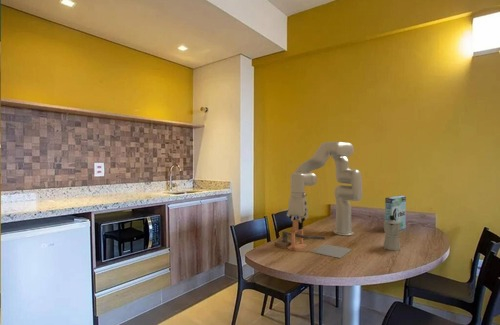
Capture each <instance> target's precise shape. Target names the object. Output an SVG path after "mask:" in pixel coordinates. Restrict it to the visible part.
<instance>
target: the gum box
mask: <svg viewBox="0 0 500 325" xmlns="http://www.w3.org/2000/svg"><path fill="white" fill-rule="evenodd" d="M384 203H385V204H384V205H385V206H384V207H385V208H384V221H386V220H390V215H393V216H394V220H395V221H398V222H400V223H401V226H400V231H401V230H405V229H406V219H407V218H406V217H407V215H406V214H407V206H406V205H407V204H406V203H407V195H397V196H396V195H395V196H391V197H385V201H384Z"/></svg>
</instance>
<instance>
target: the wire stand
mask: <svg viewBox="0 0 500 325" xmlns="http://www.w3.org/2000/svg"><path fill="white" fill-rule="evenodd" d="M288 236H292V232H288V231H285V230H284V231H282V238H281V239H279V240H277V241H275V242H274V247H278V248H282V249H288V246H291V239H288ZM295 238H299V239H300V238H303V239H306V240H325V239H326V238H325V236H319V235H317V236H316V235H304V234H303V235H300V233H299V234H297V233H295Z"/></svg>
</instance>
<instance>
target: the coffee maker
mask: <svg viewBox="0 0 500 325" xmlns="http://www.w3.org/2000/svg"><path fill="white" fill-rule="evenodd" d="M382 223H383V231H384V234H385V236H384V241H383V242H384V243H383V249H384V248H385V249H384V250H388V251H392V250H394V251H393V252H397V251H396V250H399V251H401V245H400V239H399V235H400V232H401V230H400V226H401V223H400V222H398V221H395V220H394V216H393V215H390V220H386V221H385V220H383V221H382Z"/></svg>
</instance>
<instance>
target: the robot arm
mask: <svg viewBox="0 0 500 325" xmlns="http://www.w3.org/2000/svg"><path fill="white" fill-rule="evenodd" d="M354 152H355V148H354V145H353V144H352V143H351V142H344V141H325V142H322V143H321V144H320V145H319V147H318V148H317V150H316V151H315V152H314V154H313V155H312V157H311V158H309V159H307V160H305V161H304V162H302V163H300V165H298V167H297V168H296V169H295V170H294V172H292V173H291V174H290V197H289V199H288V204H287V205H288V206H287V213H286V216H287V217H288V218H289V219H290V222H291V225H292V228H293V220H295V219H297V217H298V219H299V230H301V229H302V228H303V229H304V227H303V226H304V222H305V220H308V219H309V218H310V217H309V214H308V212H309V211H308V210H309V209H308V202H307V201H308V200H307V198H306V197H307V193H306V192H305V189H306V188H305V186H314V185H315V184H317V182H318V177H317V174H315V173H314V172H313V171H315V170H318V169H321V168H323V167H324V166H325V165H326V163H327V162H328V160H329V159H330V157H331V158H332V159H333V161H334V164H335V179H336V182H338V183H340V184H339V185H336V186H335V189H334V197H335V208H336V209H335V229H333V234H335V235H339V236H348V237H349V236H353V235H354V234H355V232H354V231H353V230H352V205H351V203H350V201H351V202H360V201H361V200H362V198H363V178H362V173H361V171H360V170H358V169H357V168H350V162H349V159H348V157H351V156H352V155H353V154H354ZM311 171H312V172H311ZM345 184H347V185H345Z"/></svg>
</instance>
